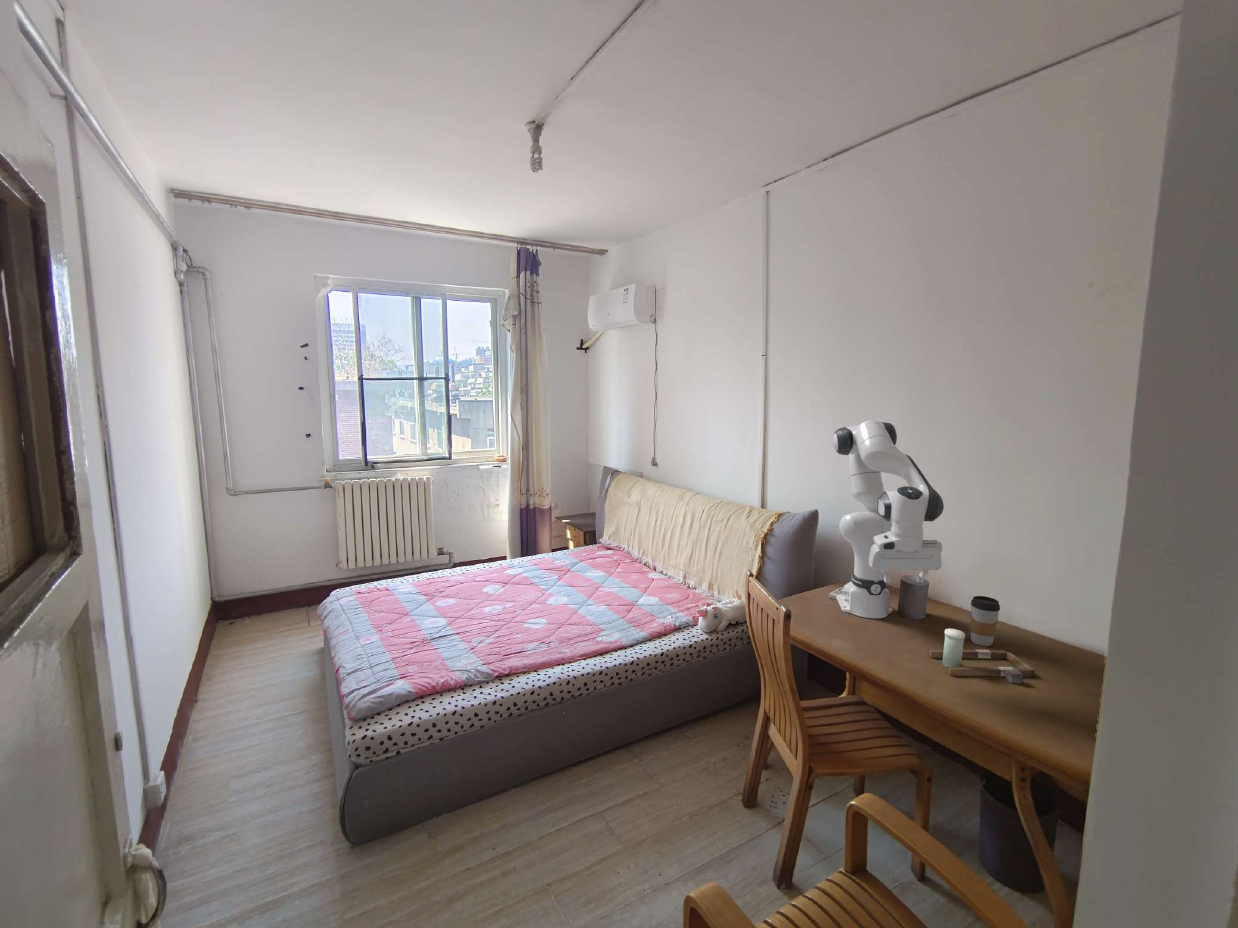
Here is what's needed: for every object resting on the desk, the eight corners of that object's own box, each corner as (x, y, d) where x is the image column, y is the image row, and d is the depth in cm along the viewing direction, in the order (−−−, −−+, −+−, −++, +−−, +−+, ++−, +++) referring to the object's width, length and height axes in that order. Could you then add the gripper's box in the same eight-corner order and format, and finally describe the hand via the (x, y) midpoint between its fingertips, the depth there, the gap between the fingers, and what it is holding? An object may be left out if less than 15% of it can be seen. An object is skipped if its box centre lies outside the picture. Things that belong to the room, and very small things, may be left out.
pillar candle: (891, 611, 217) (894, 573, 215) (909, 606, 221) (912, 570, 219) (914, 621, 209) (917, 582, 206) (932, 616, 213) (935, 578, 210)
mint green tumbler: (938, 660, 179) (941, 628, 178) (955, 661, 179) (958, 628, 177) (947, 669, 174) (950, 636, 172) (965, 669, 174) (968, 636, 172)
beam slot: (927, 655, 183) (928, 646, 182) (1006, 656, 182) (1007, 647, 182) (957, 682, 166) (958, 672, 166) (1043, 683, 166) (1044, 673, 166)
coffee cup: (966, 634, 198) (971, 593, 195) (995, 640, 193) (1000, 598, 191) (966, 644, 191) (971, 601, 188) (996, 650, 186) (1001, 606, 184)
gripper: (938, 536, 174) (934, 577, 178) (868, 536, 177) (866, 577, 181) (947, 544, 168) (943, 586, 172) (874, 544, 171) (871, 586, 175)
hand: (903, 581), depth 176 cm, fingers open, 8 cm apart
